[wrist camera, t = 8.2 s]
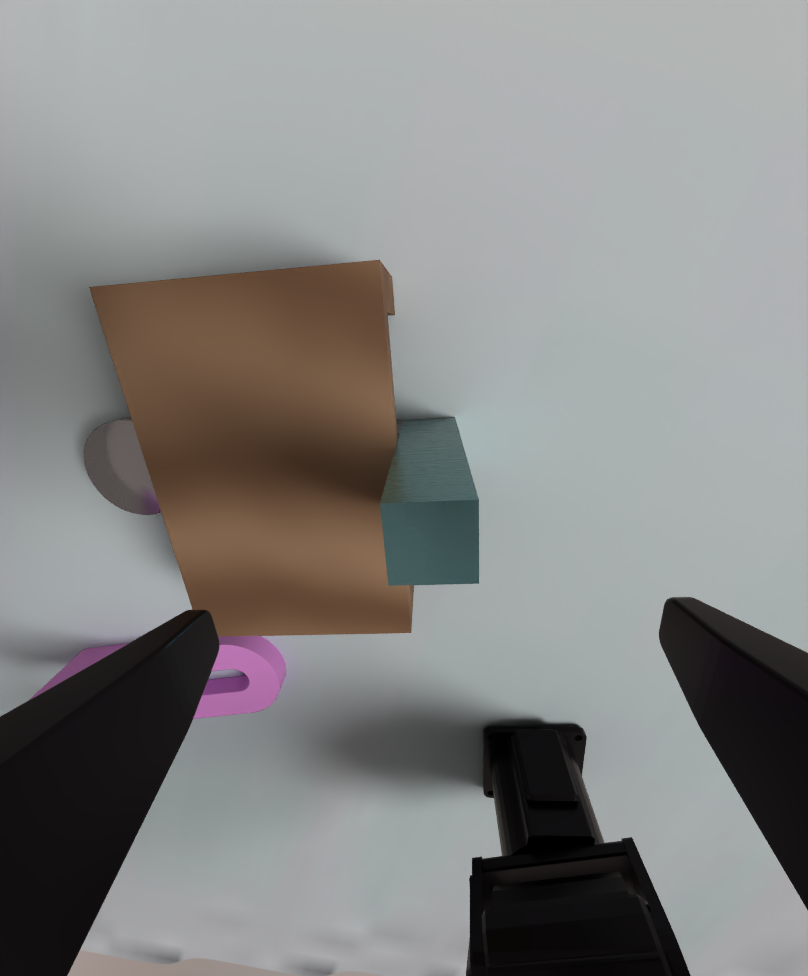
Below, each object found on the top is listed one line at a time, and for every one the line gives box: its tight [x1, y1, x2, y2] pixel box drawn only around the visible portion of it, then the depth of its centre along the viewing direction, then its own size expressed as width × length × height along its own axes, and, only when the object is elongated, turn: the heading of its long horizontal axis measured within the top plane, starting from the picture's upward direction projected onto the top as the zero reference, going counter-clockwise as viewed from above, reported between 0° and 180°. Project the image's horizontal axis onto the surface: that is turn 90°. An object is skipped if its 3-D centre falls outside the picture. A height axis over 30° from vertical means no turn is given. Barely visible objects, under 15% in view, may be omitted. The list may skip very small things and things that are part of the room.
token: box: [84, 417, 161, 515], centre depth 21 cm, size 5×5×1 cm
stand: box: [89, 260, 414, 637], centre depth 18 cm, size 15×10×5 cm, turn 4°
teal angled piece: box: [380, 417, 479, 586], centre depth 16 cm, size 2×14×10 cm, turn 94°
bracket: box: [30, 636, 286, 719], centre depth 23 cm, size 13×6×7 cm, turn 102°
